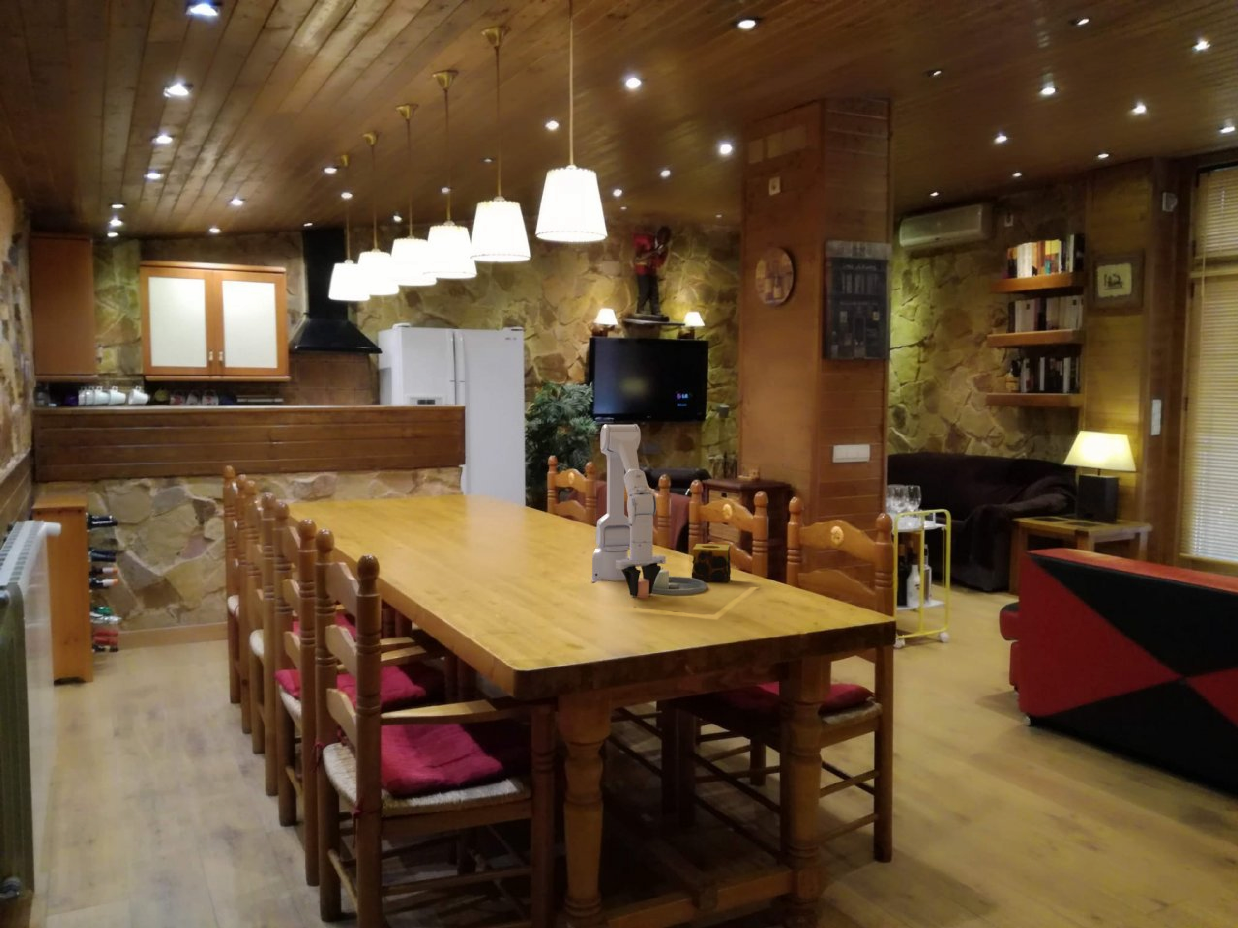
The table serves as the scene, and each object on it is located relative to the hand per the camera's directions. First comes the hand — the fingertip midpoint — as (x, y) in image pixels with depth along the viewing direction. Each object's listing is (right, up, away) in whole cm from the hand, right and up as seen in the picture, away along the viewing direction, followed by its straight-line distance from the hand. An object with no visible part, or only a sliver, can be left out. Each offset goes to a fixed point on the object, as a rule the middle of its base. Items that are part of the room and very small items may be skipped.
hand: (640, 594), depth 240 cm
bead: (0, -1, 0) cm, 1 cm away
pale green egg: (+5, 0, +7) cm, 9 cm away
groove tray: (+9, -1, +11) cm, 14 cm away
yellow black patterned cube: (+20, 0, +23) cm, 31 cm away
